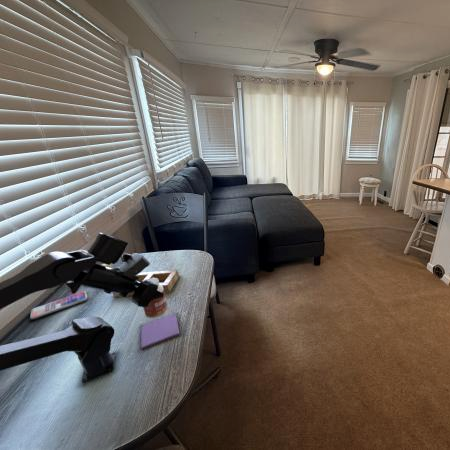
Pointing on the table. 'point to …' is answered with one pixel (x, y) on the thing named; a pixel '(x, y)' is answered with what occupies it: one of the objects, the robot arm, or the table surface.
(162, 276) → the bottle rack
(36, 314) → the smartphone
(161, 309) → the pill bottle
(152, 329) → the mat
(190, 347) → the table surface
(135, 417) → the table surface
